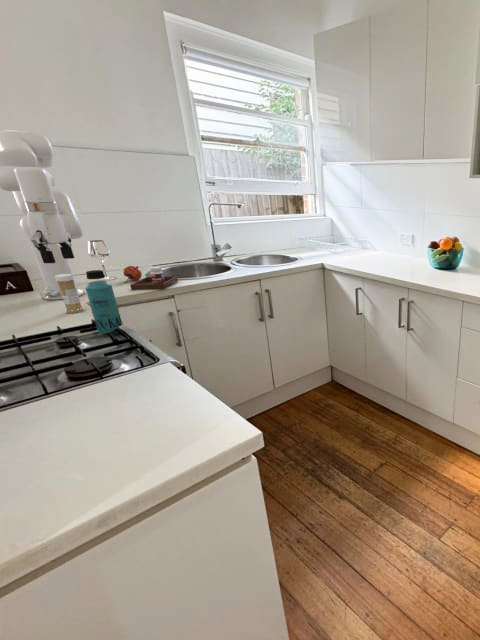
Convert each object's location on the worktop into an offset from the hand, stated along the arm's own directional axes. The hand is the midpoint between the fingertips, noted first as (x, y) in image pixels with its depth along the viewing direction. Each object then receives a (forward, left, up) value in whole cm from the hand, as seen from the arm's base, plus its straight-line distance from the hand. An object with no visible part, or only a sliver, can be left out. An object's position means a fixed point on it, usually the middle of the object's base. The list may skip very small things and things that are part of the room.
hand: (59, 260), depth 131 cm
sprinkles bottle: (0, 0, -19) cm, 19 cm away
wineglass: (+54, +17, -19) cm, 60 cm away
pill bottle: (+35, -14, -18) cm, 42 cm away
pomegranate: (+49, +3, -19) cm, 53 cm away
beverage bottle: (-27, -25, -19) cm, 41 cm away
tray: (+38, -11, -18) cm, 44 cm away
